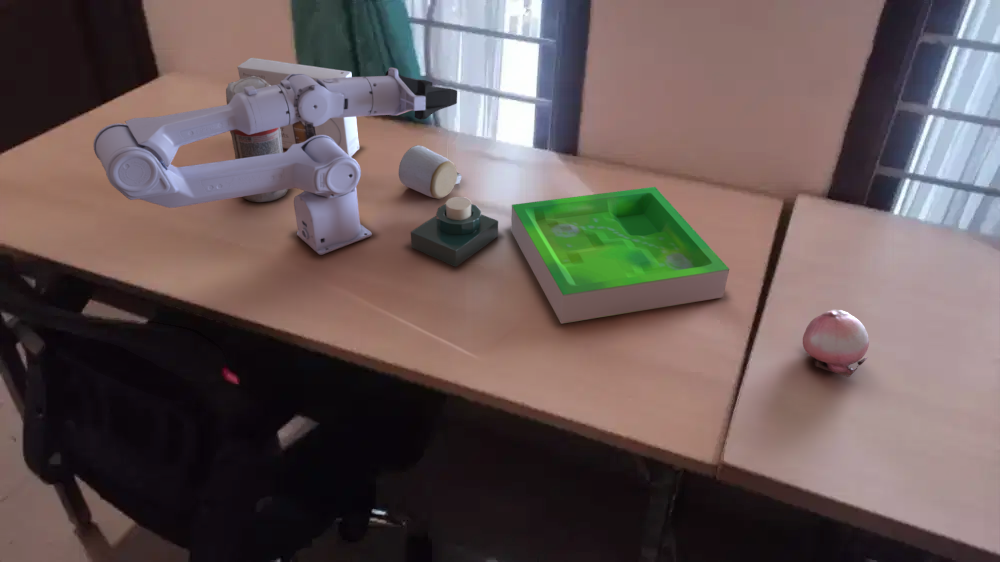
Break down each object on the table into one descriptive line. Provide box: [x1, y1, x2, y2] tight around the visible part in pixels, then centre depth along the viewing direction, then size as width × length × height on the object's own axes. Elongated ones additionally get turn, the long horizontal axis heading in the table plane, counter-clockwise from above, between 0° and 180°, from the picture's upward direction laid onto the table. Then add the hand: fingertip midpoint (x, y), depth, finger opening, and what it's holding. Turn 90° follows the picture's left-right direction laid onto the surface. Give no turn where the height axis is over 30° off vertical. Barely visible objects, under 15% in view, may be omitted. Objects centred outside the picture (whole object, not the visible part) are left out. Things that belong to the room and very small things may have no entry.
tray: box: [510, 186, 730, 324], centre depth 118 cm, size 25×25×5 cm
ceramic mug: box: [398, 144, 462, 200], centre depth 136 cm, size 11×8×8 cm
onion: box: [802, 309, 870, 378], centre depth 99 cm, size 8×8×7 cm
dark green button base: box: [410, 203, 499, 268], centre depth 122 cm, size 11×9×5 cm
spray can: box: [225, 76, 289, 203], centre depth 130 cm, size 8×8×20 cm
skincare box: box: [236, 57, 360, 157], centre depth 146 cm, size 21×5×16 cm, turn 73°
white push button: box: [445, 196, 472, 220], centre depth 121 cm, size 4×4×2 cm
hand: (443, 92), depth 122 cm, fingers open, 7 cm apart
